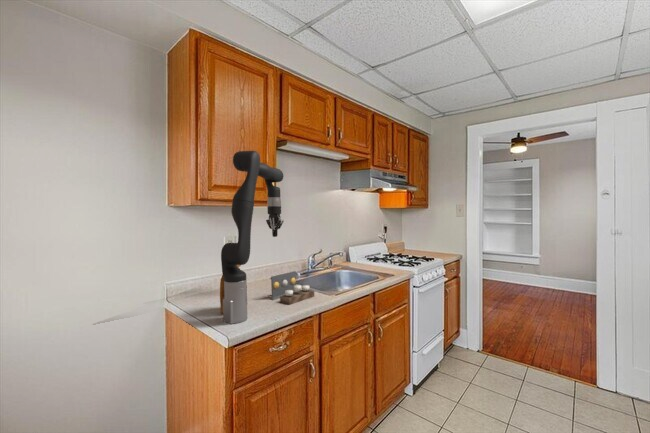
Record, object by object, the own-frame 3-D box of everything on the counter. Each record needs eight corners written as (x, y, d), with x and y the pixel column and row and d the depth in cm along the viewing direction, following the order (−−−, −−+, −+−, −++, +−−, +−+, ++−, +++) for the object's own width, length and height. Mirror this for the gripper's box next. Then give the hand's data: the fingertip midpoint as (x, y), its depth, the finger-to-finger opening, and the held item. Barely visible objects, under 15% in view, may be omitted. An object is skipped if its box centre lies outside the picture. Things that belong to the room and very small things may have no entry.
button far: (305, 291, 163) (305, 287, 162) (300, 289, 165) (300, 286, 165) (311, 289, 166) (310, 285, 165) (305, 288, 168) (305, 284, 168)
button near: (288, 296, 154) (288, 292, 153) (283, 295, 156) (283, 291, 156) (294, 294, 157) (294, 290, 156) (289, 293, 159) (289, 289, 159)
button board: (289, 304, 152) (289, 298, 152) (280, 302, 157) (280, 296, 156) (314, 296, 165) (314, 290, 165) (305, 294, 170) (305, 288, 170)
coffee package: (250, 307, 149) (249, 262, 148) (235, 316, 137) (234, 267, 136) (233, 305, 152) (232, 261, 151) (217, 314, 140) (215, 266, 140)
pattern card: (273, 300, 160) (272, 277, 160) (269, 299, 162) (269, 276, 162) (298, 292, 174) (297, 271, 173) (294, 291, 176) (294, 270, 175)
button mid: (297, 291, 158) (297, 287, 158) (292, 289, 161) (292, 286, 161) (303, 289, 161) (302, 285, 161) (297, 288, 164) (297, 284, 164)
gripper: (261, 205, 173) (262, 236, 173) (276, 205, 164) (277, 237, 164) (272, 205, 178) (272, 235, 179) (287, 205, 169) (287, 236, 170)
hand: (274, 236), depth 172 cm, fingers closed
